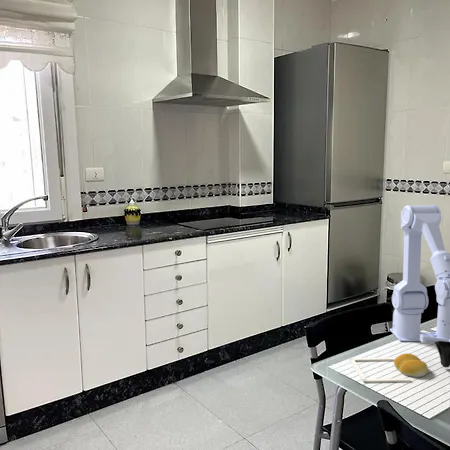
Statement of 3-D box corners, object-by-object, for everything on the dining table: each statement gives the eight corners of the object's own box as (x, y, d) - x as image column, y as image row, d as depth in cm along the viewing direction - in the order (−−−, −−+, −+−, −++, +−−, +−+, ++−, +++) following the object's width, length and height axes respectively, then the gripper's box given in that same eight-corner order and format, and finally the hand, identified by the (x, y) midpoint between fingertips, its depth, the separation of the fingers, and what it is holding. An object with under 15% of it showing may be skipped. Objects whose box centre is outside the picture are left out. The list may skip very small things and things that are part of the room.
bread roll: (407, 380, 122) (407, 366, 121) (389, 364, 130) (390, 351, 130) (434, 376, 123) (435, 363, 122) (415, 361, 132) (416, 348, 131)
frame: (349, 359, 133) (349, 358, 133) (392, 359, 133) (392, 357, 133) (363, 382, 120) (363, 380, 120) (410, 381, 120) (410, 380, 120)
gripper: (429, 325, 120) (425, 373, 122) (483, 324, 120) (479, 372, 123) (417, 315, 127) (414, 361, 129) (468, 315, 127) (465, 360, 130)
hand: (445, 365), depth 127 cm, fingers closed
